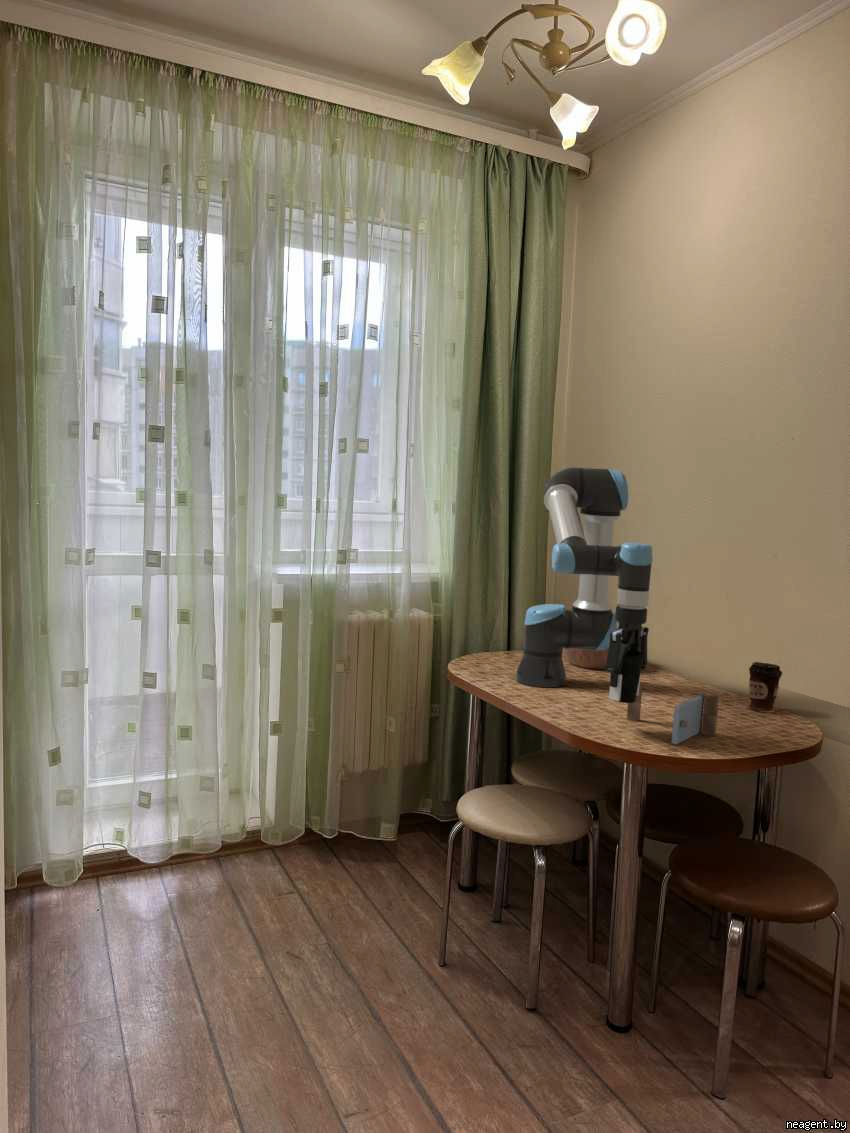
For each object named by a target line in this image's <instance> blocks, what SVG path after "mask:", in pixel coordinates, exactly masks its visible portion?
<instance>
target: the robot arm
mask: <svg viewBox="0 0 850 1133" xmlns="http://www.w3.org/2000/svg"><path fill="white" fill-rule="evenodd" d="M542 493H543V495H542V499H543V502H544V506H545V508H546V510H548V511H549V514H550V519H551V522H552V528H553V531H554V536H555V541H556V543H555V544H554V545H553V547H552V552H551V567H552V570H553V571H554V572H555V573H559V574H566V575H579V583H578V596H577V599H576V600H575V601H574V602H573V603H572V608H571V609H570V610H569V609H566V606H565V605H564V604H561V603H558V604H557V603H556V604H555V603H547V604H537V605H533V606H531V607H529V608H528V609H527V610H526V612H525V613H526V614H525V617H524V618H525V620H524V637H523V638H524V639H523V651H522V657H521V659H520V662H519V663H518V667H517V669H516V672H515V681H516V682H518V683H520V684H522V685H526V686H530V687H538V688H539V687H540V688H560V687H563V686H566V684H567V673H566V670H565V666H564V661H563V649H583V650H592V651H595V650H606V649H608V648H609V650H608V656H607V662H606V668H605V670H604V671H605V672H606V673H609V674H610V678H609V693H608V694H609V695H608V699H609V700H612V701H615V700H616V701H615V702H617V701H620V695H621V684H622V675H621V674H620V672H621V669H622V666H623V662H624V655H626V653H627V650H628V649H629V648H630V654H632V655H633V656H639V652H642V653H643V654H644V657H643V662H642V668H641V671H642V670H644V671H645V670H646V668H647V667H646V666H647V665H648V636H649V632H650V629H649V627H647V626H642V625H645V624H646V623H647V620H648V619H647V618H648V609H647V607H648V606H649V597H650V584H651V574H652V573H651V572H652V565H653V564H652V563H653V561H654V558H653V547H652V545H650V544H648V543H645V542H631V541H630V542H629V541H627V542H624V543H622V544H621V545H616V546H613V540H614V530H615V522H616V520H618V519H619V518H620V517H621V511H625V510H626V509H627V508H628V503H629V484H628V481H627V478H626V475H625V474H624V473H623V471H621V470H617V469H610V468H589V467H588V468H587V467H566V468H563V469H562V470H559V471H558V472H556V473H555V474H553V475H552V476H551V477H550V479H549V480H548V481H547V482H546V483H545V486H544V488H543V492H542ZM578 509H579V510H580V511H579V510H578ZM580 516H581V517H582V518H583V519H584V527H583V525H582V521H581V517H580ZM610 577H618V579H617V580H618V581H617V591H616V593H617V596H616V604H617V606H616V607H615V612H614V611H613V610H612V609H613V608H612V606H611V605H610V603H609V602H608V597H609V586H610ZM617 623H618V624H617ZM616 628H618V629H617V631H616ZM641 674H642V672H641V673H640V678H639V684H638V689H637V694H636V696H638V695H639V686H640V682H641Z"/></svg>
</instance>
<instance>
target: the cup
mask: <svg viewBox="0 0 850 1133" xmlns="http://www.w3.org/2000/svg"><path fill="white" fill-rule="evenodd" d="M643 657H644V654H643V653H642V652H639V656H633V655H632V654H630V649H628V650H627V653H626V655H624V662H623V666H622V669H621V672H620V674H621V675H622V684H621V695H620V701H616V700H614V701H615V702H617V703H624V704H628V703H633V702H635V700H636V694H637V689H638V684H639V678H640V679H641V676H640V673H641V674H642V669H641V668H642V662H643Z"/></svg>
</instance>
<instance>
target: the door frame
mask: <svg viewBox="0 0 850 1133" xmlns="http://www.w3.org/2000/svg"><path fill="white" fill-rule="evenodd" d="M642 694H643V681H640V686H639V695H638V696H636V700H635V702H633V703H627V711H626V720H627V721H632V722H633V721H634V722H639V721H640V720H641V719H640V718H641V708H642V707H641V706H642V696H643V695H642ZM719 701H720V695H719V694H714V693H708V692H707V693H705V696H704V707H703V719H702V730H701V733H700V734H701V735H705V736H710V737H715V736H716V734H717V725H718V724H717V722H718V713H719V703H720V702H719Z"/></svg>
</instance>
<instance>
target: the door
mask: <svg viewBox="0 0 850 1133" xmlns="http://www.w3.org/2000/svg"><path fill="white" fill-rule="evenodd" d="M705 694H706V693H705V692H701V691H700V692H698V696H695V697H693V698H691V699H688V700H686V701H683V702H681V703H679V704H677V705H674V712H673V723H672V732H671V733H672V734H671V744H673V745H678V744H680V743H682V742H683V741H686V740H688V739H690V738H692V737H694V736H696V735H698V734H701V733H702V722H703V711H704V700H705Z"/></svg>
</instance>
